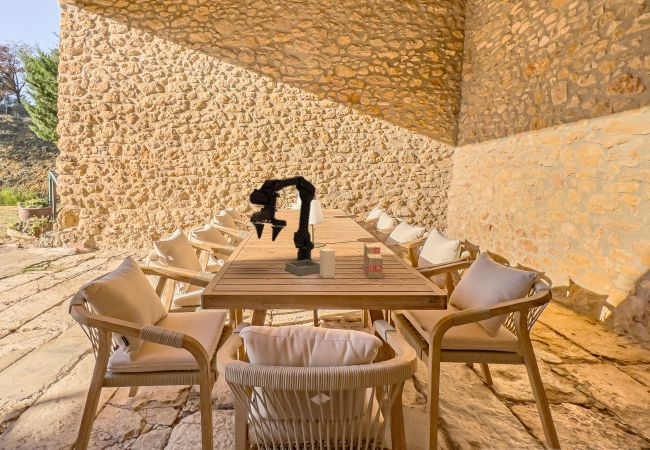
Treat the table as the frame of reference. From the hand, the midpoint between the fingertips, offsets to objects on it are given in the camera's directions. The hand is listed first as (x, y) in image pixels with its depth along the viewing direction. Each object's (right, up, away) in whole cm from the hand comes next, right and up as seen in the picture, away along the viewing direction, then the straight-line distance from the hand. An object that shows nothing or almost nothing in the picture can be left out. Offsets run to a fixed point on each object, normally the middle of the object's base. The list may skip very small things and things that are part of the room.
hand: (266, 240), depth 173 cm
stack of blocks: (+49, -15, +3) cm, 52 cm away
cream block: (+28, -16, -5) cm, 33 cm away
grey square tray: (+17, -15, +2) cm, 23 cm away
